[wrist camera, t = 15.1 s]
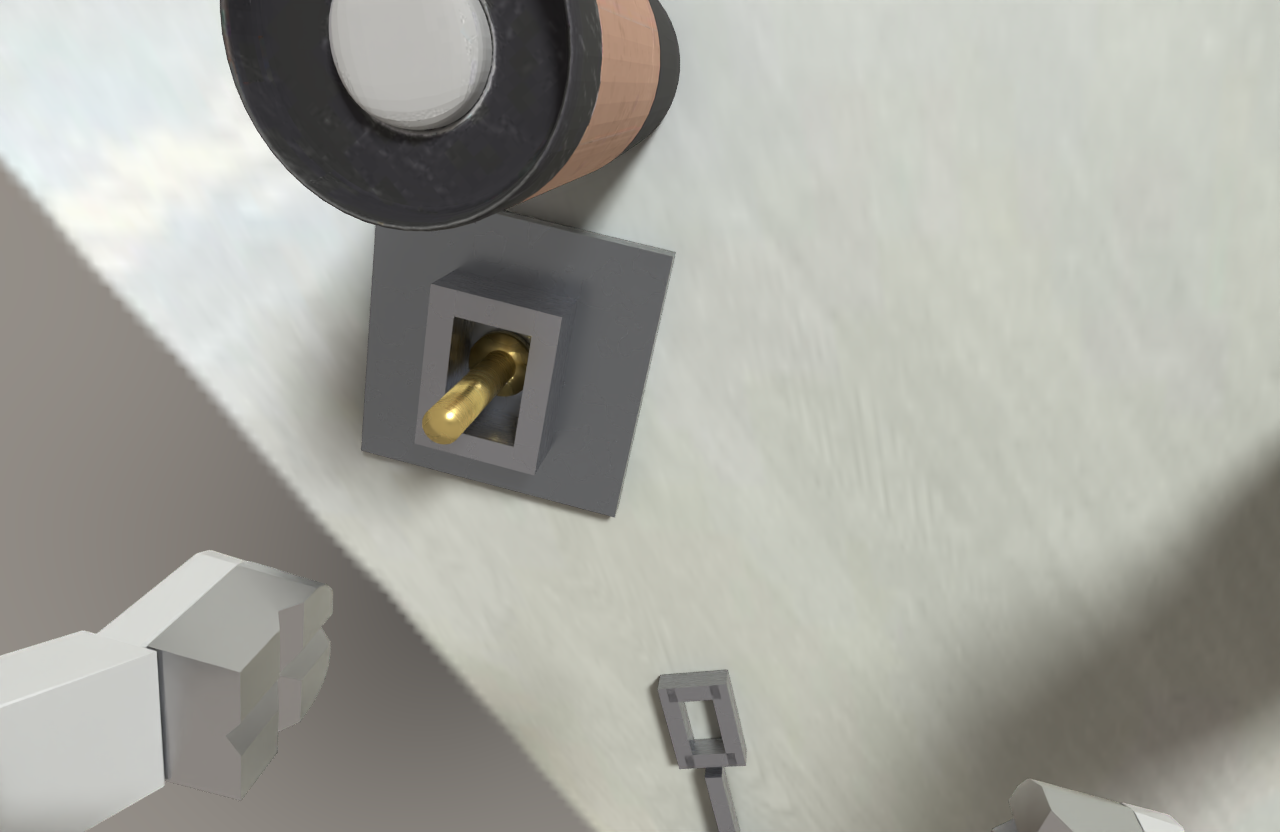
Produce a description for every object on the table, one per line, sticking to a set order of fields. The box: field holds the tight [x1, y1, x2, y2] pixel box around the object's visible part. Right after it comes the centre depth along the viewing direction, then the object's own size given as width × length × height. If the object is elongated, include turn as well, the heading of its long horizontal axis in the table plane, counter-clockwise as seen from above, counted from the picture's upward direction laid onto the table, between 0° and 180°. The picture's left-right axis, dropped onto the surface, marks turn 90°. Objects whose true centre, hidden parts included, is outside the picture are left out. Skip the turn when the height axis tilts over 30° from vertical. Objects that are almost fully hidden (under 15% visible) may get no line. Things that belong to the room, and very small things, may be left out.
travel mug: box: [220, 0, 680, 231], centre depth 25 cm, size 8×8×20 cm
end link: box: [415, 269, 578, 475], centre depth 37 cm, size 6×8×3 cm
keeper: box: [361, 211, 676, 517], centre depth 35 cm, size 14×14×9 cm
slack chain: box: [657, 670, 747, 832], centre depth 47 cm, size 5×17×4 cm, turn 13°
